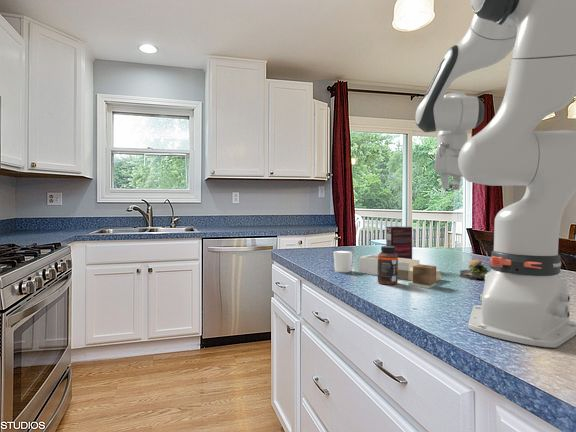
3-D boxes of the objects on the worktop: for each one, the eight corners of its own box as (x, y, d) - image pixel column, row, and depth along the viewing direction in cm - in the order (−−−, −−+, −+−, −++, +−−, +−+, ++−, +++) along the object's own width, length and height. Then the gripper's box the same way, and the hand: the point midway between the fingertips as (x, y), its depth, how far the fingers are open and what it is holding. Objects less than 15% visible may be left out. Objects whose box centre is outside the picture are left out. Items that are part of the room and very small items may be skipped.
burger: (476, 282, 110) (477, 259, 110) (451, 275, 122) (451, 253, 122) (508, 281, 113) (509, 258, 113) (480, 274, 125) (481, 253, 124)
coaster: (428, 288, 101) (428, 285, 101) (408, 285, 105) (408, 282, 105) (436, 285, 105) (436, 282, 105) (416, 282, 109) (416, 279, 109)
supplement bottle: (400, 285, 104) (400, 247, 104) (380, 285, 104) (380, 247, 104) (394, 281, 110) (395, 245, 110) (375, 280, 110) (376, 245, 110)
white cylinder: (338, 268, 132) (338, 249, 132) (355, 270, 128) (355, 251, 128) (329, 271, 126) (329, 251, 126) (346, 273, 122) (347, 253, 122)
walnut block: (412, 282, 104) (413, 266, 104) (419, 280, 108) (419, 264, 108) (429, 285, 101) (430, 268, 101) (436, 282, 105) (436, 266, 104)
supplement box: (406, 266, 137) (406, 226, 136) (412, 269, 132) (413, 226, 131) (385, 267, 135) (385, 226, 135) (390, 269, 131) (391, 226, 130)
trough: (430, 283, 107) (430, 265, 107) (359, 272, 124) (359, 257, 124) (440, 279, 113) (440, 262, 113) (371, 269, 130) (371, 254, 130)
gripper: (451, 140, 102) (450, 187, 103) (471, 148, 117) (470, 190, 118) (429, 142, 107) (428, 188, 107) (452, 150, 122) (451, 190, 122)
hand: (450, 189), depth 113 cm, fingers open, 8 cm apart
